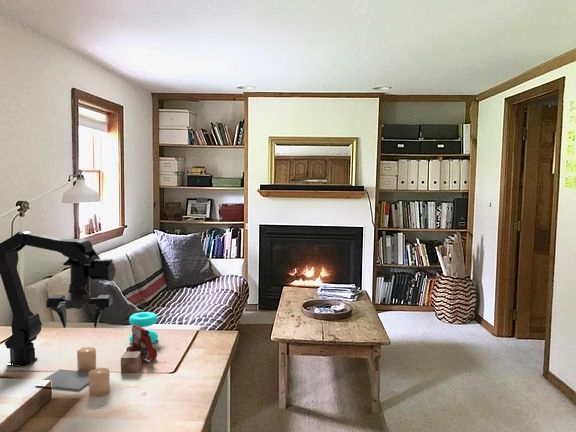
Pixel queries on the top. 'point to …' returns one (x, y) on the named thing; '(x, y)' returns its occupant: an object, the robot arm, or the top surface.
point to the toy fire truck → (142, 343)
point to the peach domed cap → (99, 382)
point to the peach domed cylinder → (86, 359)
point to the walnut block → (130, 362)
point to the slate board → (69, 379)
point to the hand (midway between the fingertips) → (80, 327)
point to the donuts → (144, 323)
